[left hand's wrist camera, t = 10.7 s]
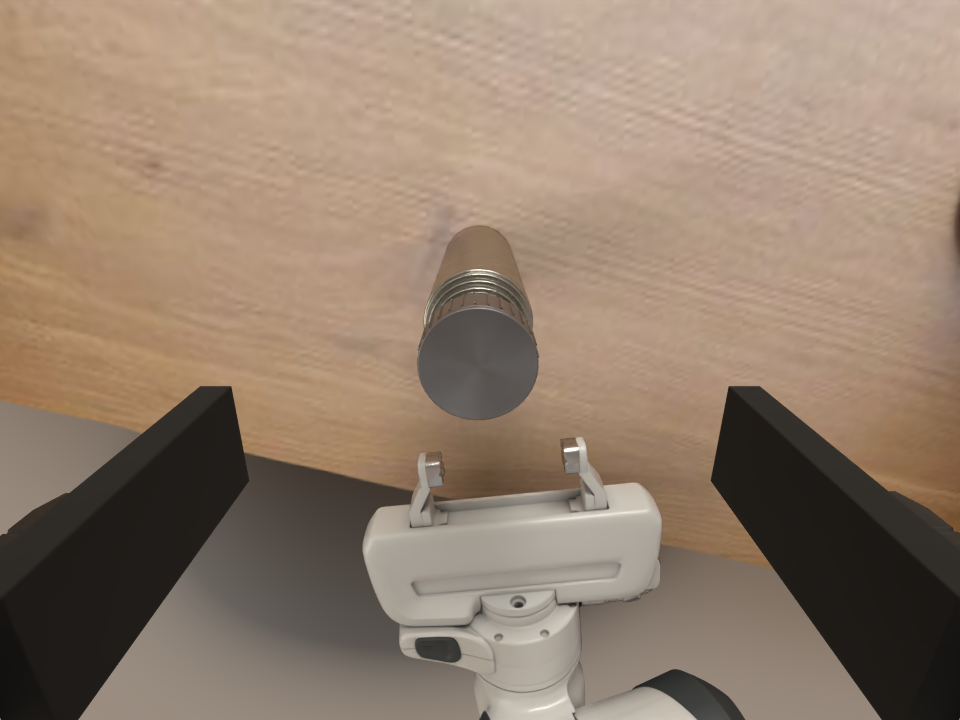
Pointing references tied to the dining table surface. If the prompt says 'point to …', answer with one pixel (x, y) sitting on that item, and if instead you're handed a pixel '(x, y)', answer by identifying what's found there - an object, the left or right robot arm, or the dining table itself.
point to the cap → (477, 357)
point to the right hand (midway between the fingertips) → (500, 449)
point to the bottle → (478, 271)
